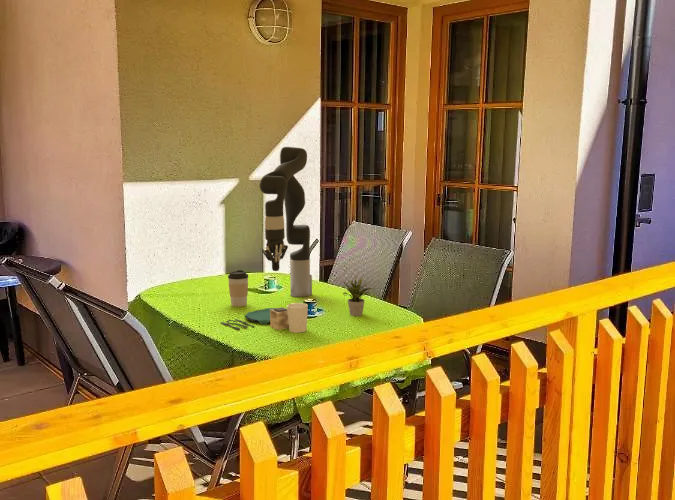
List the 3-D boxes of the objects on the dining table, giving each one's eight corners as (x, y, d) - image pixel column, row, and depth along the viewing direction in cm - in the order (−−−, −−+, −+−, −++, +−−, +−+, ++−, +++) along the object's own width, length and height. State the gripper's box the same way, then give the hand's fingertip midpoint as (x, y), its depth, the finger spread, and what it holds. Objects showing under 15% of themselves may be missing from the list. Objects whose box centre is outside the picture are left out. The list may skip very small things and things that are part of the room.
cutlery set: (303, 319, 287) (303, 313, 287) (239, 333, 269) (239, 327, 269) (276, 310, 303) (276, 305, 302) (214, 323, 284) (214, 317, 284)
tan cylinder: (287, 328, 274) (287, 303, 272) (307, 327, 274) (307, 302, 273) (287, 333, 266) (287, 308, 264) (308, 333, 266) (308, 307, 265)
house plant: (346, 321, 283) (346, 281, 280) (331, 313, 295) (331, 275, 292) (377, 316, 289) (377, 278, 287) (360, 309, 301) (360, 272, 299)
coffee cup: (245, 307, 306) (244, 273, 304) (225, 306, 308) (224, 273, 306) (251, 302, 315) (251, 270, 313) (232, 301, 317) (231, 269, 315)
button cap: (282, 313, 277) (282, 307, 276) (286, 315, 274) (286, 309, 273) (274, 314, 275) (274, 308, 274) (278, 316, 272) (278, 310, 271)
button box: (283, 324, 279) (283, 307, 278) (291, 327, 274) (291, 310, 273) (270, 326, 276) (270, 309, 275) (277, 330, 271) (277, 312, 270)
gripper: (279, 224, 280) (280, 266, 284) (255, 228, 270) (257, 272, 273) (293, 226, 276) (294, 268, 279) (270, 230, 266) (271, 274, 269)
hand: (275, 270), depth 276 cm, fingers closed
